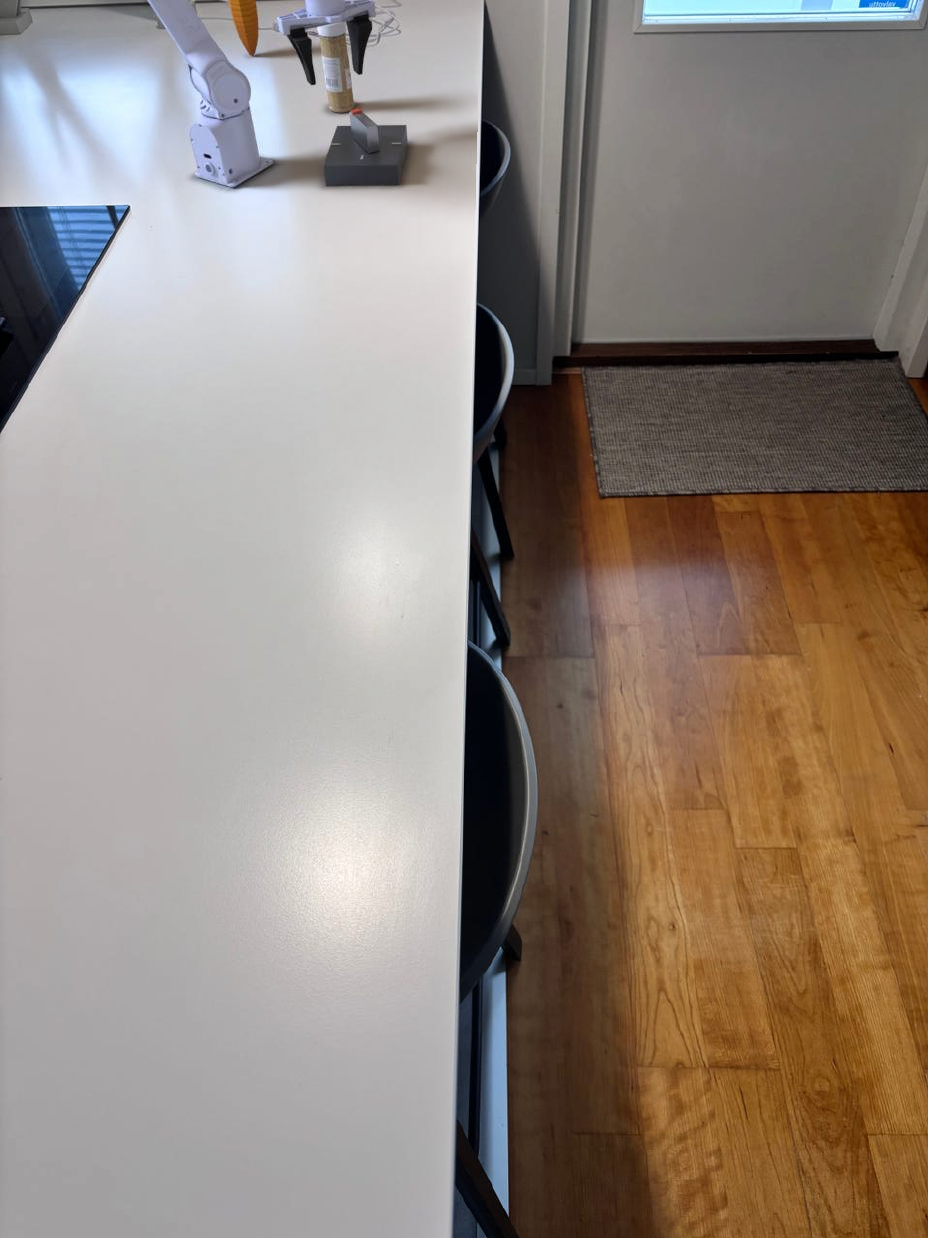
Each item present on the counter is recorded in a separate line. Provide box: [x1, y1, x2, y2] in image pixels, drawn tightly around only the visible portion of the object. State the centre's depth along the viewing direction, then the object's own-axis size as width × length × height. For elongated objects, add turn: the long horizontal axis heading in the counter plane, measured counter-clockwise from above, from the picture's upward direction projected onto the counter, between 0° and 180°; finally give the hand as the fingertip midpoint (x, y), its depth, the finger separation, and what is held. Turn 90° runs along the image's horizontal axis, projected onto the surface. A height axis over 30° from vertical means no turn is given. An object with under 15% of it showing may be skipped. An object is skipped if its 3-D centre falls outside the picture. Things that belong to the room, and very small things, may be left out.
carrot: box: [227, 0, 259, 57], centre depth 173 cm, size 5×5×15 cm
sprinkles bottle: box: [316, 21, 356, 113], centre depth 156 cm, size 5×5×13 cm
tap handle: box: [348, 108, 380, 153], centre depth 143 cm, size 6×2×4 cm, turn 27°
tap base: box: [322, 124, 409, 187], centre depth 145 cm, size 14×11×3 cm
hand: (335, 77), depth 145 cm, fingers open, 7 cm apart
